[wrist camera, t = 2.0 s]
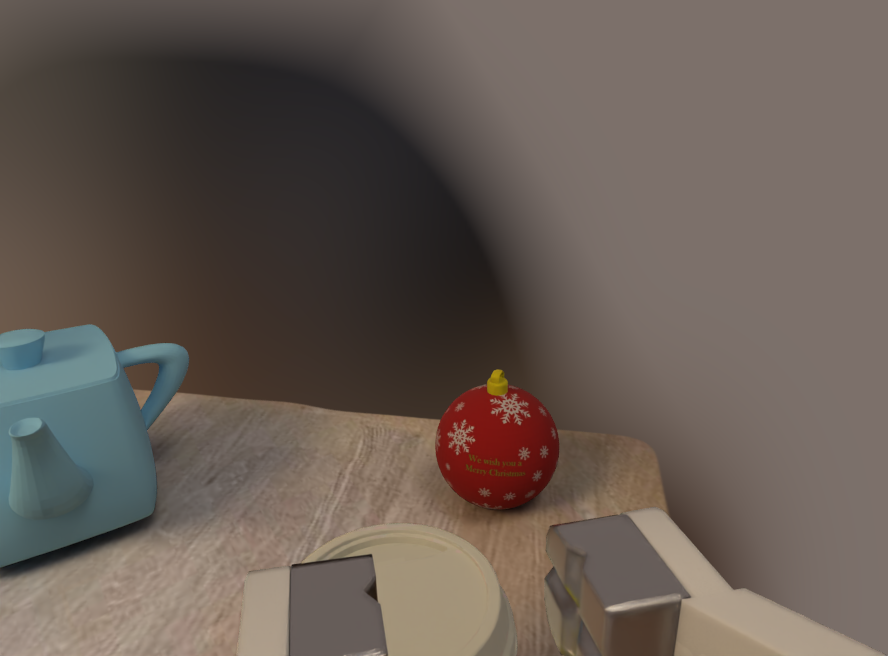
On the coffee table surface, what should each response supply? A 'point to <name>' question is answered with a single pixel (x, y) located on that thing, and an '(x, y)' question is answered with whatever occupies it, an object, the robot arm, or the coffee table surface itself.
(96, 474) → the teapot
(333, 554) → the coffee cup
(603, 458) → the coffee table surface
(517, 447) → the christmas ornament
